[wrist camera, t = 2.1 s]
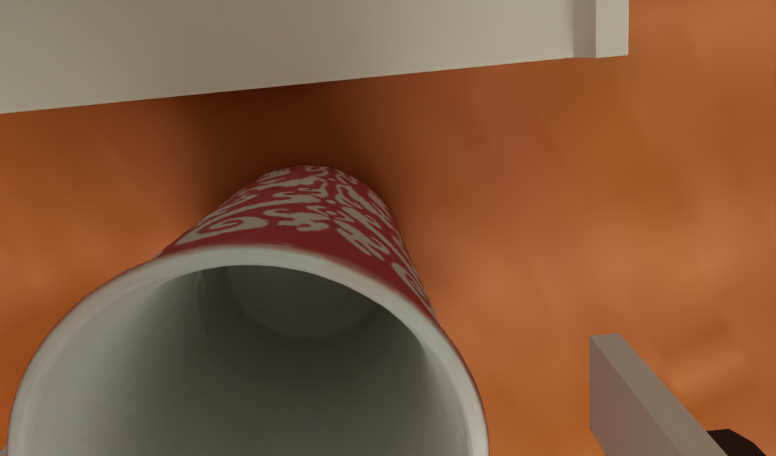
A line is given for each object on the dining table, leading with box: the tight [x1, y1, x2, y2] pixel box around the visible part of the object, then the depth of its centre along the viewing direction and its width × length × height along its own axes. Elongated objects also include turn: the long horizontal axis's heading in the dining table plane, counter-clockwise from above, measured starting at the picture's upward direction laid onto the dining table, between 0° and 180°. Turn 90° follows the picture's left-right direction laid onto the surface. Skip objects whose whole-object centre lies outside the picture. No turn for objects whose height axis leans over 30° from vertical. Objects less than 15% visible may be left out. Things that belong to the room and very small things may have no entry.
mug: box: [6, 164, 490, 456], centre depth 18 cm, size 13×9×14 cm
